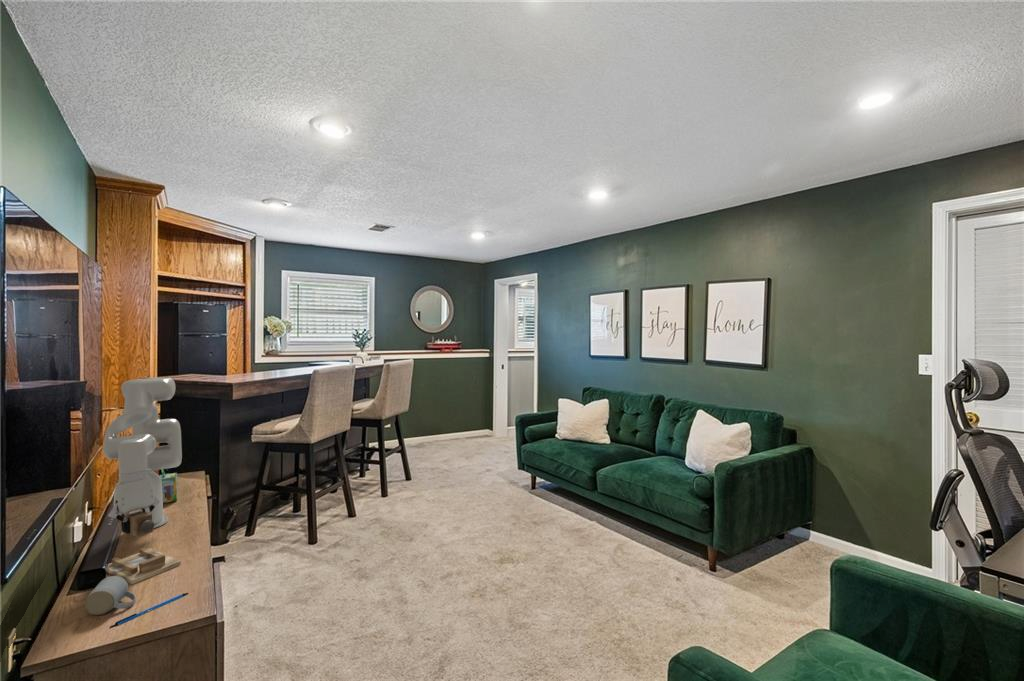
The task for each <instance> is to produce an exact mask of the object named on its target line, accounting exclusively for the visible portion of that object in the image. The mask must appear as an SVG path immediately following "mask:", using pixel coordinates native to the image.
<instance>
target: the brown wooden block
mask: <svg viewBox="0 0 1024 681" xmlns="http://www.w3.org/2000/svg"><path fill="white" fill-rule="evenodd" d="M117 515H121V513H120V512H117ZM128 521H129V522H130V533H128V534H127V533H124V532H123V531H122V525H121V521H120V520H118V519H117V530H118V532H120V533H124V534H127V535H129V536H133V537H135V538H139V537H142V536H145V535H148V534H150V533H153V532H154V531H153V530H154V528H153V527H154V522H153V521H152V514H150V513H146V512H142V511H139V510H135V511H132V512H129V517H128Z"/></svg>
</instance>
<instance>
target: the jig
mask: <svg viewBox="0 0 1024 681" xmlns="http://www.w3.org/2000/svg"><path fill="white" fill-rule="evenodd" d="M107 564H108V567H107V571H108V572H107V573H109V574H111V575H112V576H118V577H121V578H123V579H124V580H125V581H126V582H127V584H130V585H134V584H136V583H139V582H141V581H143V580H144V581H145V580H146V579H149V578H151V577H153V576H156V575H159V574H161V573H163V572H166V571H169V570H171V569H173V568H175V567H178V566H180V565H182V564H181V560H179V559H177V558H174V557H172V556H170V555H168V554H165V553H162V552H160V551H157V550H155V549H153V548H146V547H143V548H142V547H141V548H139V552H136V553H134V554H132V555H129V556H126V557H124V558H120V557H114V558H111V562H110V563H107Z"/></svg>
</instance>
